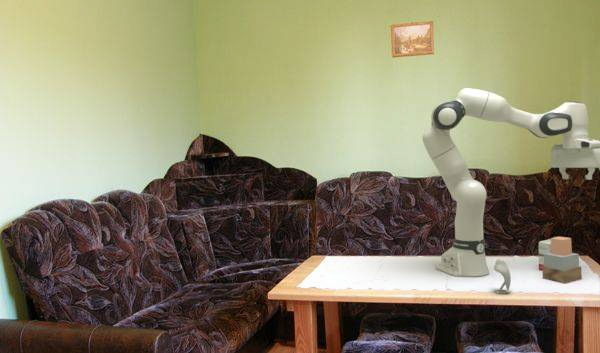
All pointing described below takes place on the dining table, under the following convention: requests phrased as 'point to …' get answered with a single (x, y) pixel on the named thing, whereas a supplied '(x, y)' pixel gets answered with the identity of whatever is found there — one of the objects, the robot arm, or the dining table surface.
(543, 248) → the ink box
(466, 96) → the robot arm
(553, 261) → the slate block
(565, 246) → the terracotta block
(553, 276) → the walnut block
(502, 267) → the figurine
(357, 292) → the dining table surface
